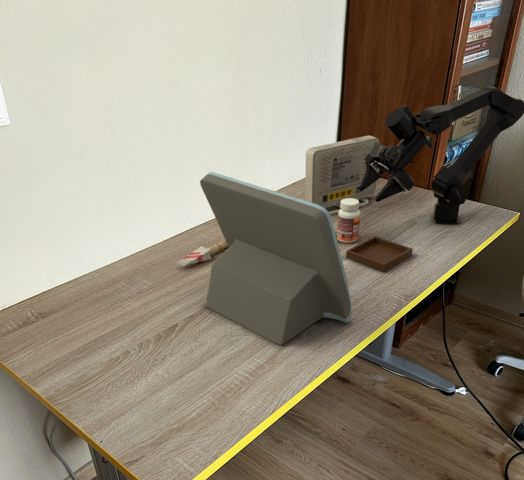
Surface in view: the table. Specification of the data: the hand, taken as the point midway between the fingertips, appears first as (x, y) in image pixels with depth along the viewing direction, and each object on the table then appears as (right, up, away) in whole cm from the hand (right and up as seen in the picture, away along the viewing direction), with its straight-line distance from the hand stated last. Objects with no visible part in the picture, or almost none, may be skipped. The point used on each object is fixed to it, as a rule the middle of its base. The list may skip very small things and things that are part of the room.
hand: (367, 195), depth 156 cm
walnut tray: (+2, -18, -4) cm, 19 cm away
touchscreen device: (-28, -34, -24) cm, 50 cm away
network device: (-4, +4, +27) cm, 27 cm away
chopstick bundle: (-45, -17, -1) cm, 48 cm away
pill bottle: (-5, -11, +6) cm, 13 cm away
